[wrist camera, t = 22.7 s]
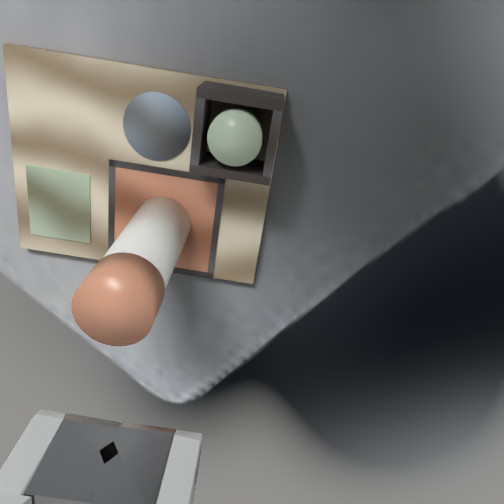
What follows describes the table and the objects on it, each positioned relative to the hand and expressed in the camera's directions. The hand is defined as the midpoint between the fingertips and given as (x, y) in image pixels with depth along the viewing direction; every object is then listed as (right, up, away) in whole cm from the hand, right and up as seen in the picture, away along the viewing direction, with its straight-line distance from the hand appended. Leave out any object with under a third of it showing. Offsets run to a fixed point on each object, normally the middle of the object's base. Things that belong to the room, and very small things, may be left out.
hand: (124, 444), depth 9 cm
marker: (-5, +6, +29) cm, 30 cm away
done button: (+1, +12, +23) cm, 26 cm away
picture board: (-6, +10, +28) cm, 30 cm away
